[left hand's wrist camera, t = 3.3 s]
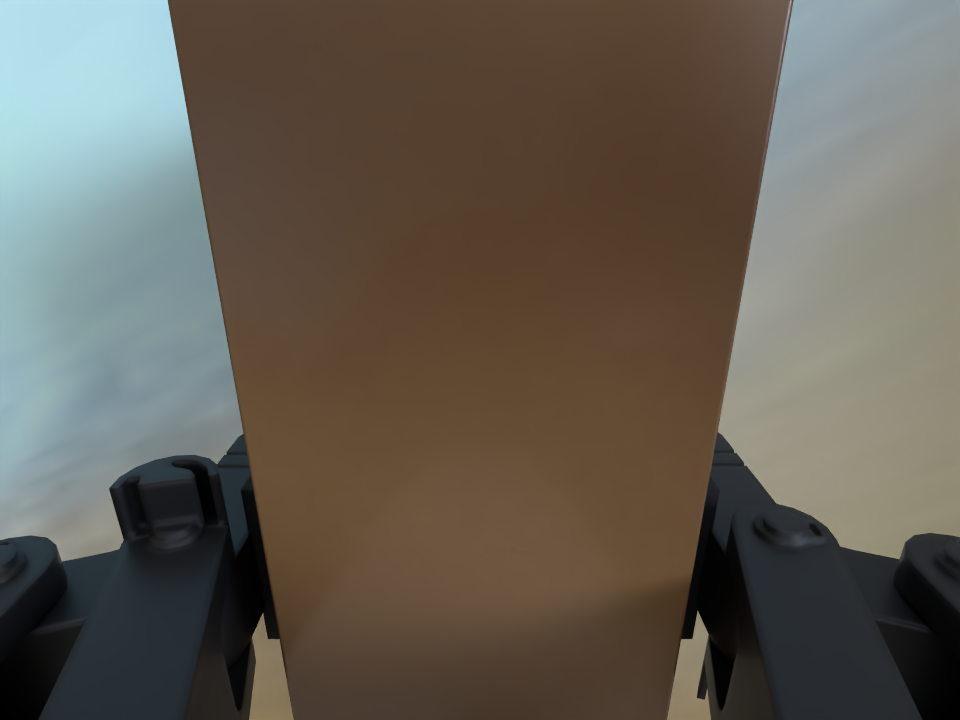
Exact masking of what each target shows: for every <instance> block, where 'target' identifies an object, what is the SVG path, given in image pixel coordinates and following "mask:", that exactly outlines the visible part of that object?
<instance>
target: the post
mask: <svg viewBox="0 0 960 720" xmlns="http://www.w3.org/2000/svg"><path fill="white" fill-rule="evenodd" d="M168 5H169V10H170V16H171V22H172V27H173V33H174V39H175V45H176V50H177V56H178V62H179V67H180V73H181V79H182V85H183V90H184V96H185V102H186V107H187V113H188V119H189V124H190V130H191V136H192V142H193V147H194V153H195V159H196V164H197V170H198V176H199V182H200V187H201V193H202V199H203V204H204V210H205V216H206V222H207V227H208V233H209V239H210V244H211V250H212V256H213V261H214V267H215V273H216V279H217V284H218V290H219V296H220V301H221V307H222V313H223V319H224V324H225V330H226V336H227V341H228V347H229V353H230V358H231V364H232V370H233V376H234V381H235V387H236V393H237V398H238V404H239V410H240V416H241V421H242V427H243V433H244V438H245V444H246V450H247V455H248V461H249V467H250V473H251V478H252V484H253V490H254V495H255V501H256V507H257V513H258V518H259V524H260V530H261V535H262V541H263V547H264V553H265V558H266V564H267V570H268V575H269V581H270V587H271V592H272V598H273V604H274V610H275V615H276V621H277V627H278V632H279V638H280V644H281V650H282V655H283V661H284V667H285V672H286V678H287V684H288V689H289V695H290V701H291V707H292V712H293V718H294V720H667V716H668V710H669V704H670V699H671V693H672V687H673V682H674V676H675V670H676V665H677V659H678V653H679V648H680V642H681V636H682V630H683V625H684V619H685V613H686V608H687V602H688V596H689V591H690V585H691V579H692V574H693V568H694V562H695V557H696V551H697V545H698V540H699V534H700V528H701V522H702V517H703V511H704V505H705V500H706V494H707V488H708V483H709V477H710V471H711V466H712V460H713V454H714V449H715V443H716V437H717V431H718V426H719V420H720V414H721V409H722V403H723V397H724V392H725V386H726V380H727V375H728V369H729V363H730V358H731V352H732V346H733V341H734V335H735V329H736V323H737V318H738V312H739V306H740V301H741V295H742V289H743V284H744V278H745V272H746V267H747V261H748V255H749V250H750V244H751V238H752V233H753V227H754V221H755V215H756V210H757V204H758V198H759V193H760V187H761V181H762V176H763V170H764V164H765V159H766V153H767V147H768V142H769V136H770V130H771V125H772V119H773V113H774V107H775V102H776V96H777V90H778V85H779V79H780V73H781V68H782V62H783V56H784V51H785V45H786V39H787V34H788V28H789V22H790V17H791V11H792V5H793V0H168Z"/></svg>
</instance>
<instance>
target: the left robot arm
mask: <svg viewBox="0 0 960 720" xmlns="http://www.w3.org/2000/svg"><path fill="white" fill-rule="evenodd" d="M109 490H110V493H111V497H112V500H113V504H114V507H115V511H116V514H117V518H118V521H119V525H120V528H121V532H122V535H123V539H124V541H123V543H122V545H121V547H120V549H119V550H115V551H112V552H108V553H103V554H98V555H93V556H88V557H83V558H78V559H74V560H69V561H64V562H62V561H61V558H60V555H59V552H58V549H57V546H56V544H54V543H53V542H52V541H51V540H49V539H48V538H45V537H37V536H24V537H16V538H8V539H4V540H0V720H249V715H250V706H251V698H252V689H253V681H254V673H255V664H256V659H255V652H254V646H253V641H252V635H253V633H254V631H255V629H256V627H257V624H258V622H259V620H260V618H261V615H262V613H263V614H264V619H265V625H266V630H267V636H268V639H280V638H279V632H278V627H277V621H276V615H275V610H274V604H273V598H272V592H271V587H270V581H269V575H268V570H267V564H266V558H265V553H264V547H263V541H262V535H261V530H260V524H259V518H258V513H257V507H256V501H255V495H254V490H253V484H252V478H251V473H250V467H249V461H248V455H247V450H246V444H245V438H244V434H243V435H241V436H239V437H238V439H237V440H236V441H235V442H234V444H233V445H232V446H231V447H230V449H229V450H228V451H227V455H224V456H223V458H222V459H221V460H220V461H219V463H218V464H216V463H214V462H213V461H212V460H210V459H209V458H205V457H201V456H196V455H184V456H172V457H167V458H163V459H158V460H154V461H152V462H149V463H146V464H144V465H141V466H138V467H136V468H134V469H132V470H131V471H129V472H128V473H126V474H124V475H123V476H121V477H119V478H118V480H117V481H116V482H115V483H114V484H113V485H112V486H111V487H110V488H109ZM697 611H698V612H699V614H700V616H701V618H702V620H703V623H704V625H705V627H706V629H707V632H708V634H709V636H708V641H707V646H706V651H705V656H704V661H703V666H702V671H701V676H700V681H699V687H698V694H697V698H700V699H704V700H705V696H706V691H707V688H708V696H709V705H710V713H711V720H960V537H956V536H950V535H942V534H934V533H927V534H920V535H914V536H913V537H911V538H910V539H909V540H908V541H906V542H905V545H904V548H903V551H902V554H901V557H900V560H899V559H895V558H890V557H885V556H880V555H875V554H870V553H865V552H860V551H855V550H851V549H847V548H843V547H840V546H839V544H838V542H837V540H836V538H835V537H834V536H833V534H832V533H831V532H830V531H829V529H828V528H827V527H826V526H825V525H823V524H822V523H820V522H819V521H817V520H816V519H815V518H813V517H812V516H810V515H808V514H805V513H803V512H801V511H798V510H796V509H794V508H791V507H787V506H783V505H778V504H776V503H775V501H774V500H773V499H772V498H771V496H770V495H769V494H768V492H767V491H766V490H765V489H764V487H763V486H762V485H761V484H760V482H759V481H758V480H757V479H756V477H755V476H754V475H753V474H752V472H751V471H750V470H749V469H748V467H747V466H744V462H743V461H742V460H741V458H740V457H739V456H738V455H737V453H734V450H733V448H732V447H731V446H730V445H729V443H728V442H727V441H726V439H725V438H724V437H723V436H722V435H721V434H720V433H718V432H717V437H716V443H715V449H714V454H713V460H712V466H711V471H710V477H709V483H708V488H707V494H706V500H705V505H704V511H703V517H702V522H701V528H700V534H699V540H698V545H697V551H696V557H695V562H694V568H693V574H692V579H691V585H690V591H689V596H688V602H687V608H686V613H685V619H684V625H683V630H682V636H681V639H692V638H693V632H694V627H695V622H696V616H697Z"/></svg>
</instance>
